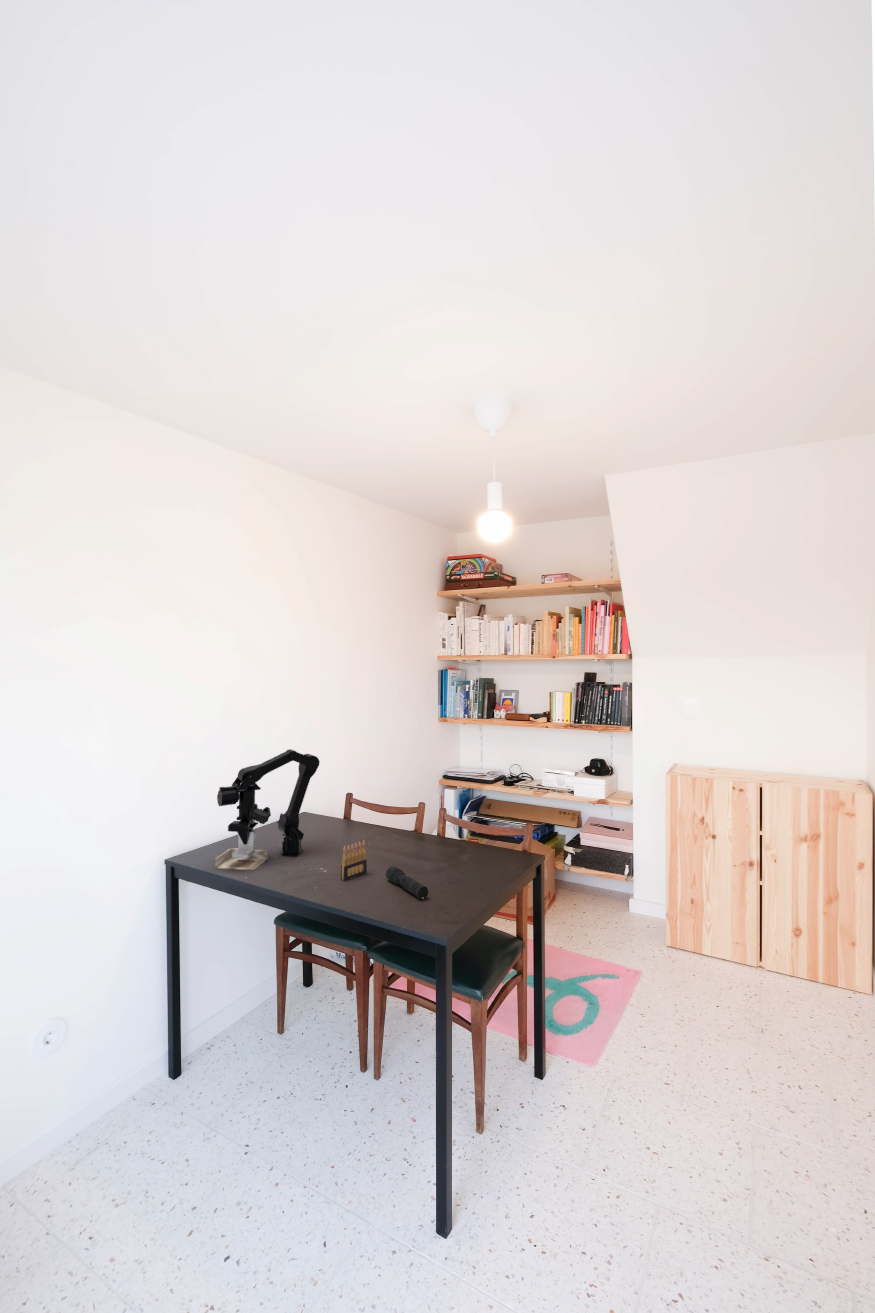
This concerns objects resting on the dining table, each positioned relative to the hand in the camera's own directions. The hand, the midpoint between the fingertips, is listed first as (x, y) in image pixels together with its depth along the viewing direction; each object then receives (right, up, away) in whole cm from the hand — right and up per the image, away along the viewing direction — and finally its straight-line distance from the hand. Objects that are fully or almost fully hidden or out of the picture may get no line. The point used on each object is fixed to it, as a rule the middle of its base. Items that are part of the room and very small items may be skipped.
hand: (246, 843), depth 220 cm
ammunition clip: (+42, -8, -12) cm, 45 cm away
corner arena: (-1, -7, -2) cm, 7 cm away
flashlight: (+61, -8, -23) cm, 66 cm away
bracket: (0, -3, -3) cm, 4 cm away
